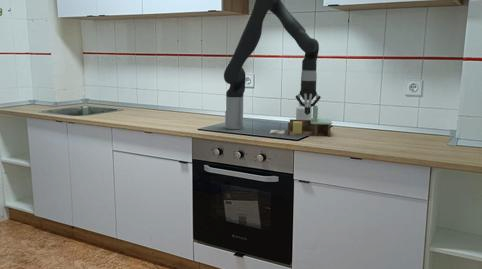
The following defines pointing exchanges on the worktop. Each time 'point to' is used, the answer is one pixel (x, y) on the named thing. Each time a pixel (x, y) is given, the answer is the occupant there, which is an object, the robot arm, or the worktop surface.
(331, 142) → the worktop surface
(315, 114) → the pale grey l-shaped piece
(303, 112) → the pill bottle
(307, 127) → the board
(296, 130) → the block
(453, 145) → the worktop surface
